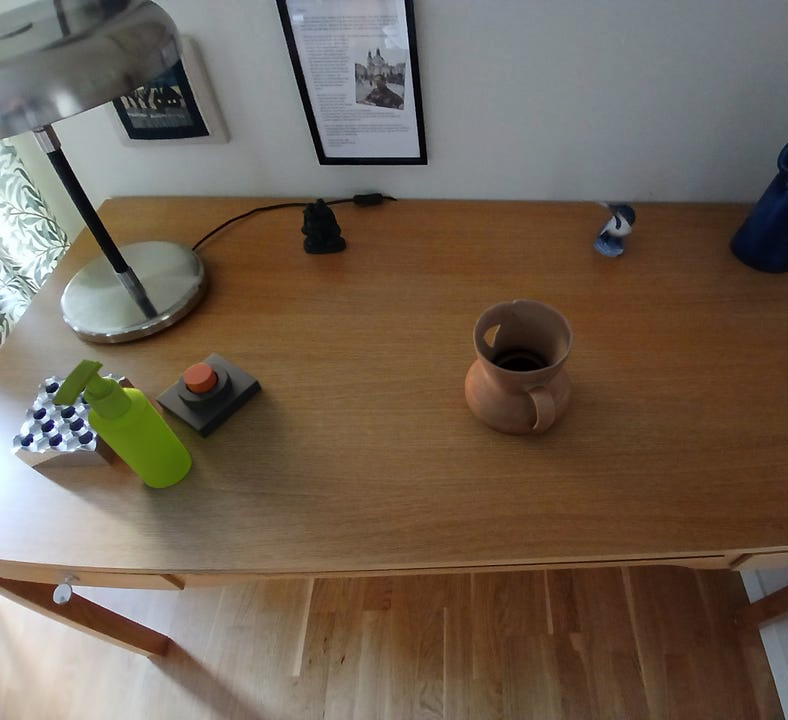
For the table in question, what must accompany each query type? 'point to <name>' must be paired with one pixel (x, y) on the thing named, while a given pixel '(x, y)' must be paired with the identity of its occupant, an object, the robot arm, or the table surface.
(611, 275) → the table surface
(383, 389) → the table surface
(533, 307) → the ceramic jug
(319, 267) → the table surface
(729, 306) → the table surface
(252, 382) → the red push button box
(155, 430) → the soap dispenser
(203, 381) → the button
